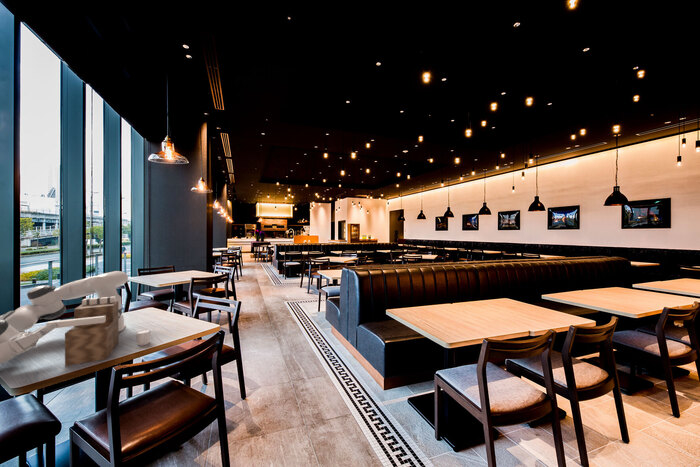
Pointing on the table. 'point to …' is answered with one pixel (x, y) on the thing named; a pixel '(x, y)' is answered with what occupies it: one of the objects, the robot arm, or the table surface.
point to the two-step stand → (92, 334)
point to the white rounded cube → (143, 337)
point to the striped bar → (98, 300)
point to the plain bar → (77, 321)
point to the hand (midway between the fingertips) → (58, 323)
